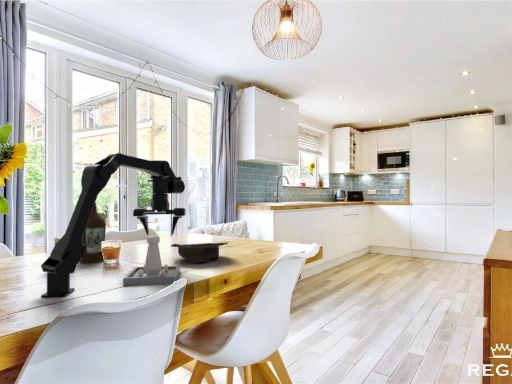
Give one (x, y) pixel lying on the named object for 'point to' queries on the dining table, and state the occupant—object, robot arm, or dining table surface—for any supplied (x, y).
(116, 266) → the dining table surface
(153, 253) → the salt shaker
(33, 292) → the dining table surface
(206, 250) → the stone bowl
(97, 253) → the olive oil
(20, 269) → the dining table surface
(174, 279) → the pin tray
